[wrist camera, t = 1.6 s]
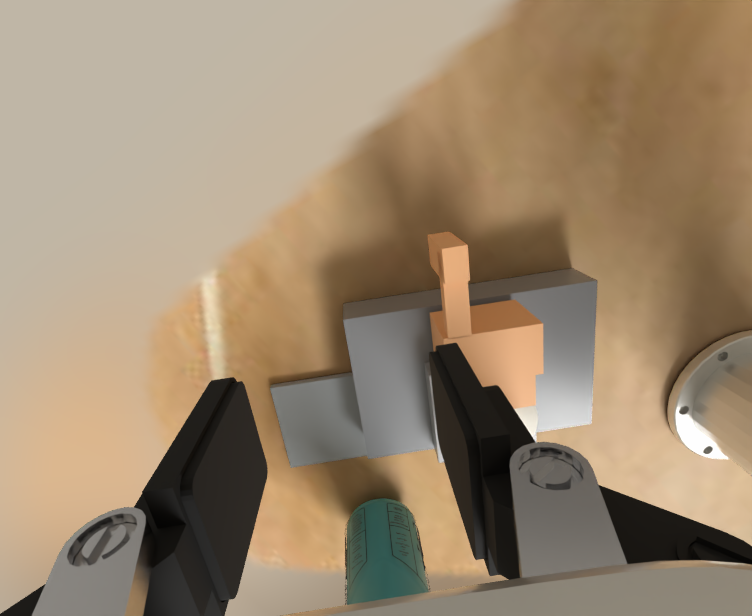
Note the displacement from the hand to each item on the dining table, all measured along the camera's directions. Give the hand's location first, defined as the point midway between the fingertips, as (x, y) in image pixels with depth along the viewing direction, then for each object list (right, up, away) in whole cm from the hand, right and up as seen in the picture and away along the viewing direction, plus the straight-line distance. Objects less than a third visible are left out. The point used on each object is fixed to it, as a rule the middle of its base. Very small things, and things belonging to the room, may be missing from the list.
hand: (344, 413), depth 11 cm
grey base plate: (+8, -1, +24) cm, 25 cm away
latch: (+7, +3, +18) cm, 20 cm away
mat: (-3, -7, +25) cm, 26 cm away
